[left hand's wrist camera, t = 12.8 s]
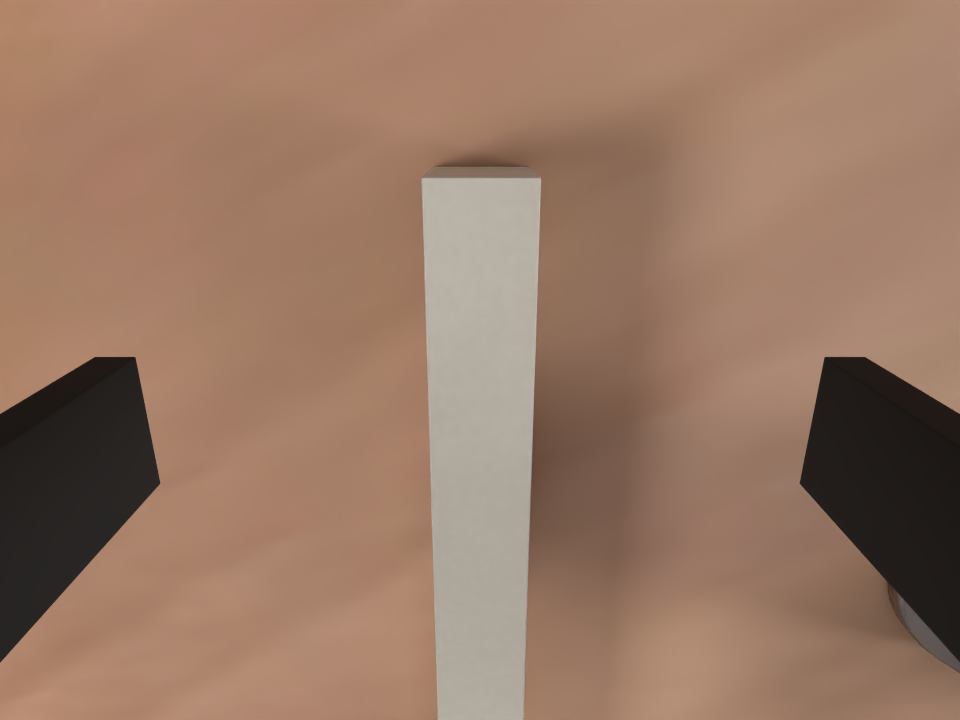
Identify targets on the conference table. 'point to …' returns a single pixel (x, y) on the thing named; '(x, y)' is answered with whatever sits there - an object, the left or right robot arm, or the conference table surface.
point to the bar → (481, 428)
